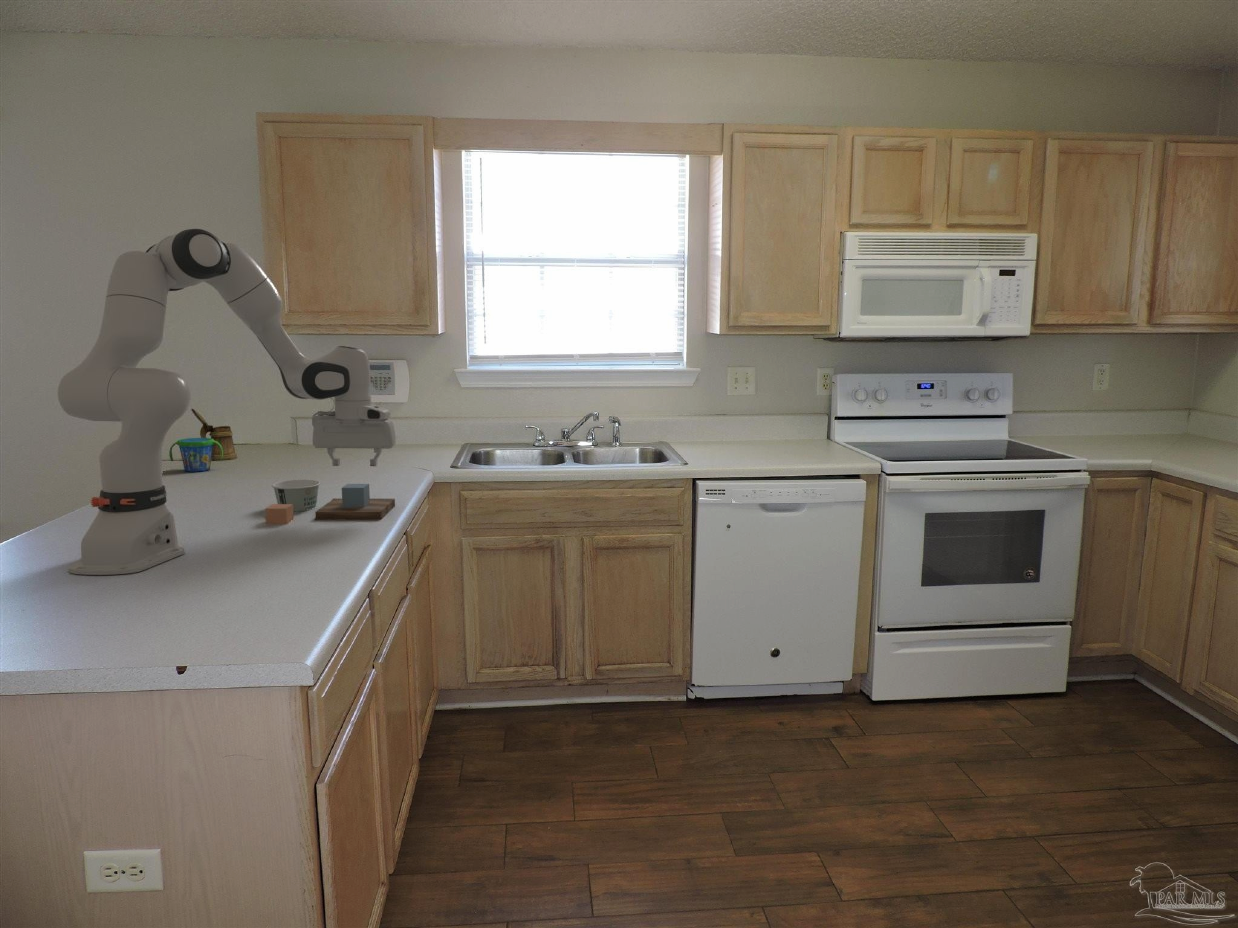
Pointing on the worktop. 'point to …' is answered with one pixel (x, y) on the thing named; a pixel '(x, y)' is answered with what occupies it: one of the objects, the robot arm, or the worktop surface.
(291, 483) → the food container
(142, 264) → the robot arm
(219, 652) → the worktop surface
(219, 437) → the wooden mug
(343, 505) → the slate block
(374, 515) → the walnut board
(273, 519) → the terracotta block
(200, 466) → the snack cup
